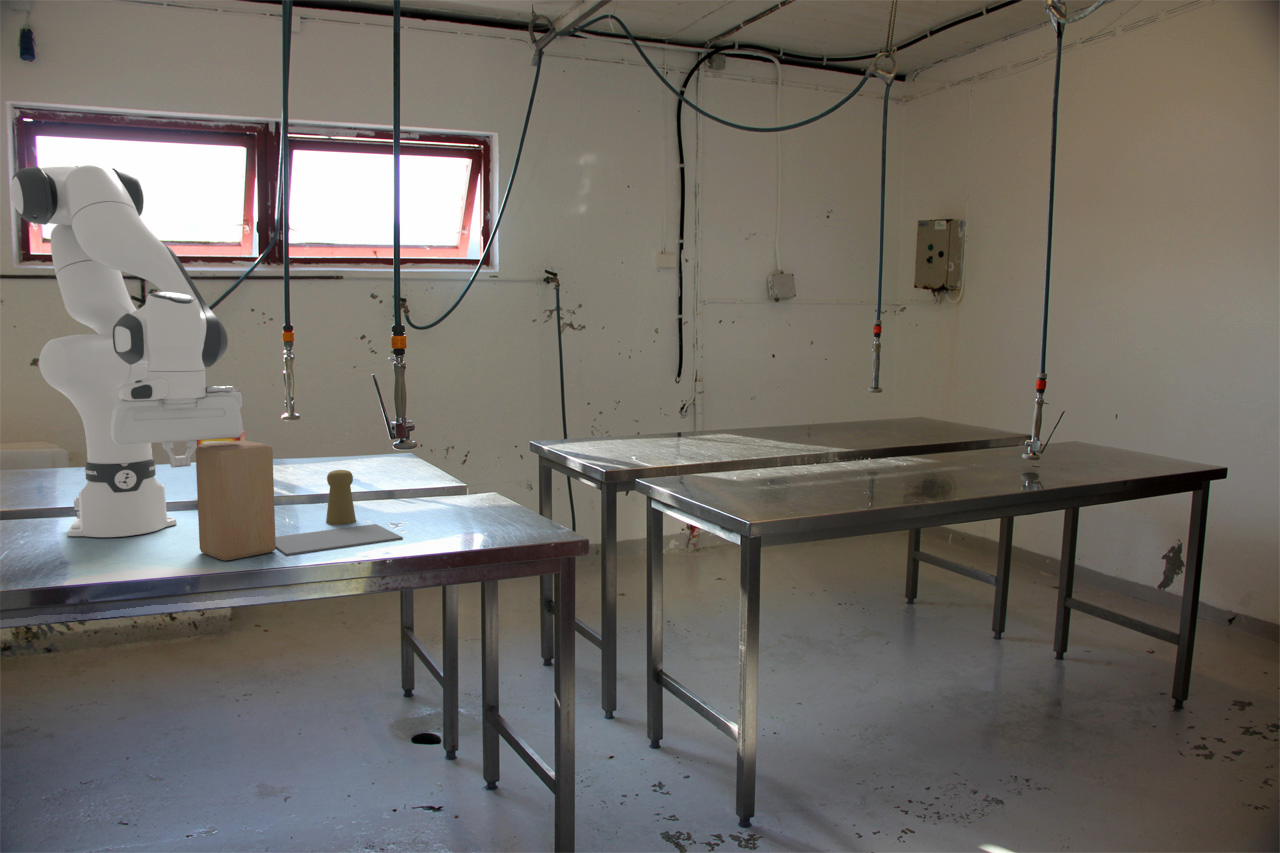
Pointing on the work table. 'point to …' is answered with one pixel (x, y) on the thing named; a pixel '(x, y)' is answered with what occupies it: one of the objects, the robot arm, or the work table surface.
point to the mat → (333, 539)
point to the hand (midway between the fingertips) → (180, 466)
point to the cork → (340, 498)
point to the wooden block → (235, 499)
